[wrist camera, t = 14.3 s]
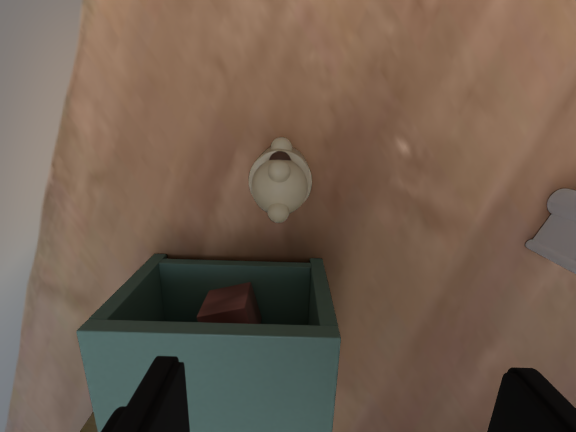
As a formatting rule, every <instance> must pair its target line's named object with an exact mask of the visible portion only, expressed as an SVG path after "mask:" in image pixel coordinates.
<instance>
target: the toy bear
mask: <svg viewBox="0 0 576 432" xmlns="http://www.w3.org/2000/svg"><path fill="white" fill-rule="evenodd" d="M311 187H312V176H311V172H310V169H309V167H308V164H307V162H306V159H305V158H304V156H303V155H302V154H301V153H300V152H299V151H298V150H297V149H295V148H293V147H292V144H291V142H290V141H289V140H288V139H287V138H284V137H279V138H276V139H275V140H274V141H273V142H272V144H271V147H270V148H268V149H267V150H265V151H264V152H263V153H262V154H261V155H260V157H259V158H258V159H257V160H256V161H255V163H254V164H253V166H252V168H251V170H250V173H249V188H250V192H251V194H252V196H253V198H254V200H255V202H256V203H257V205H258V206H259V207H260V208H261V209H262V210H264V211H266V212H267V213H268V217H269V218H270V219H271V220H272V221H273V222H276V223H281V222H284V221H285V220H286V219H287V218H288V216H289V213H292V212H294V211H295V210H297V209H298V208H299V207H300V206H301V205H302V204H303V203H304V202H305V200H306V199H307V198H308V196H309V194H310V191H311Z"/></svg>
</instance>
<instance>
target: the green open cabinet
mask: <svg viewBox="0 0 576 432" xmlns="http://www.w3.org/2000/svg"><path fill="white" fill-rule="evenodd" d="M247 282H251V284H252V288H253V291H254V294H255V297H256V301H257V304H258V307H259V310H260V314H261V317H262V320H261V324H241V323H205V322H198V320H197V315H198V313H199V311H200V309H201V306H202V304H203V302H204V300H205V298H206V296H207V294H208V292H209V291H210V290H214V289H219V288H224V287H229V286H233V285H238V284H243V283H247ZM77 337H78V342H79V346H80V351H81V356H82V360H83V365H84V370H85V374H86V379H87V384H88V388H89V393H90V398H91V403H92V407H93V412H94V417H95V421H96V426H97V431H98V432H101V431H102V429H103V427H104V426H105V424H106V423H107V421H108V419H109V418H110V416H111V415H112V414H113V412H114V411H115V410H116V409H117V408H118V407H121V406H127V404H128V403H129V401H130V399H131V397H132V396H133V394H134V392H135V391H136V389H137V387H138V386H139V384H140V382H141V381H142V379H143V377H144V376H145V374H146V372H147V371H148V369H149V367H150V366H151V364H152V362H153V360H154V359H155V358H156V357H157V356H176V357H178V359H179V362H184V366H185V377H186V389H187V401H188V413H189V425H190V432H332V427H333V417H334V406H335V396H336V385H337V375H338V364H339V354H340V343H341V337H340V332H339V328H338V323H337V319H336V315H335V311H334V306H333V302H332V298H331V294H330V289H329V285H328V281H327V276H326V272H325V268H324V264H323V259H321V258H310V263H299V262H263V261H227V260H192V259H167V254H154V255H153V256H152V257H151V258H150V259H149V260H148V261H147V262H146V263H145V264H144V265H143V266H142V267H141V268H140V269H139V270H137V271H136V272H135V273H134V274H133V275H132V276H131V277H130V278H129V279H128V280H127V281H126V282H125V283H124V284H123V285H122V286H121V287H120V288H119V289H118V290H117V291H116V292H115V293H114V294H113V295H112V296H111V297H110V298H109V299H108V300H107V301H106V302H105V303H104V304H103V305H102V306H101V307H100V308H99V309H98V310H97V311H96V312H95V313H94V314H93V315H92V316H91V317H90V318H89V320H87V321H86V322H85V323H84V324H83V325H82V326H81V327H80V328H79V329H78V330H77Z"/></svg>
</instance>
